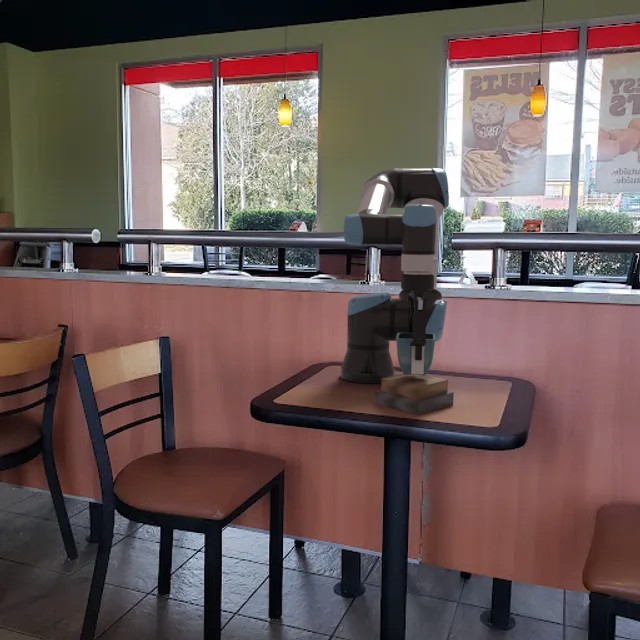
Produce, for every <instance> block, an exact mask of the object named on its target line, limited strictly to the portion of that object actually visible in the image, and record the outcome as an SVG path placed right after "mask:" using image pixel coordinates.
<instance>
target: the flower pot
mask: <svg viewBox="0 0 640 640" xmlns="http://www.w3.org/2000/svg"><path fill="white" fill-rule="evenodd" d="M395 342H396V353H397V360H398V365H399V367H400V370H401V371H402V374H406V375H428V372H429V370H430V368H431V366H432V363H433V359H434V355H435V352H434V351H435V344H436V342H435V334H430V333H426V344H425V345H424V374H411V363H412V346H410V343H413V333H398V334H397V337H396V341H395Z"/></svg>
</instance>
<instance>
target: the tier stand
mask: <svg viewBox="0 0 640 640" xmlns="http://www.w3.org/2000/svg"><path fill="white" fill-rule="evenodd" d="M380 384H381V386H380V387H381V388H380V389H378V390H375V391H374V393H375V394H374V404H376V405H379V406H383V407H387V408H391V409H395V410H399V411H402V412H406V413H409V414H414V415H417V416H419V415H424V414H428V413H430V412H433V411H437V410H439V409H444V408H446V407H450V406H453V405H454V393H455V392H454V391H449V387H448V385H449V379H447V378H441V377H437V376H433V375H428V374H426V375H406V374H404V373H401V374H395V376H391V377H387V378H382V380H381V383H380Z"/></svg>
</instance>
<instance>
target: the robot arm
mask: <svg viewBox="0 0 640 640" xmlns="http://www.w3.org/2000/svg"><path fill="white" fill-rule="evenodd" d="M449 194H450V193H449V182H448V176H447V172H446V171H445V170H444V169H443V168H437V167H436V168H435V167H427V168H425V167H423V168H417V167H415V168H414V167H413V168H411V167H409V168H408V167H405V168H404V167H403V168H400V167H395V168H389V169H388V168H387V169H385V170H382V171H380V172H378V173H376V174H374V175H372V176H371V177H370V178H369V179H368V180H367V181H366V182H365V183H364V185H363V187H362V189H361V202H360V205H359V207H358V210H357V213H353V214H346V215H345V216H344V219H343V239H344V242H345V244H347V245H349V246H350V245H352V246H353V245H355V246H358V247H359V246H360V247H361V246H402V248H401V249H402V250H401V259H400V260H401V261H400V262H401V265H400V270H401V271H402V272H403V273H402V274H401V275H400V288H401V290H400V292H399V294H398V297H399V298H395V297H394V298H393V297H392V295H391V293H390V292H375V293H374V292H372V293H367V294H366V293H365V294H359V295H356V296H353V297H351V298H350V299H349V300H348V304H347V313H346V316H347V330H346V331H347V335H346V338H347V339H346V343H347V344H346V353H345V355H344V358H343V362H342V365H341V367H340V378H341V379H342V380H344V381H348V382H352V383H353V382H354V383H360V384H381V380H382V378H387V377H391V376H395V375H396V370H395V369H396V368H395V367H394V363H393V360H392V355H391V351H390V342H396V337H397V334H398V333H413V343H410V346H412V363H411V374H424V345H425V344H426V333H430V334H435V343H437V342H439V341H440V340H441V339H442V336H443V331H444V327H445V320H446V313H447V306H448V301H447V300H446V299H445V298H442V297H443V294H442V292H441V291H440V290H439V289H438V288H437V280H438V279H437V277H438V275H437V274H438V246H439V245H438V243H439V242H438V241H439V239H438V238H439V218H440V217H441V216H442V215H443V214H444V210H445V209H447V208H449V204H450V203H449V202H450V195H449ZM389 209H402V210H403V211H402V214H390V213H389V214H388V211H389Z"/></svg>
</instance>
